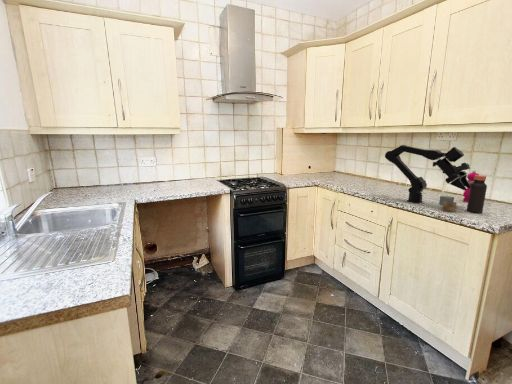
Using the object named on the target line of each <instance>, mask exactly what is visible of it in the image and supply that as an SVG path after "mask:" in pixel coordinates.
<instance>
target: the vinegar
mask: <svg viewBox="0 0 512 384" xmlns="http://www.w3.org/2000/svg"><path fill="white" fill-rule="evenodd" d="M486 180H487V176H486V175H481V174H479V175H475V176H474V183H472V184H471V186H470V192H469V199H468V202H467V206H466V211H467V212H469V213H474V214H482V213H483V210H484V205H485V200H486V194H487V189H488V185H487V184H486V183H485V182H486Z"/></svg>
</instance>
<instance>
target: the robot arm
mask: <svg viewBox="0 0 512 384" xmlns="http://www.w3.org/2000/svg"><path fill="white" fill-rule="evenodd" d="M403 153H408V154H413V155H417V156H421V157H423V158H426V159H428V160H429V161H432V167H433V168H434V167H436V166H437V167H438V168H439V169H440V170H441V172H442V174H443V175H444V174H445V175H446V176H447V177H446V178H445V182H446V184H449V185H451V186H453V187H455V188H458V189H460V190H462V191H465V190H466V189H467V188H470V184H469V183H468V178H467V176H468V172H466V171H467V170H470V169H471V167H470V164H469V163H468V162H463V163H461V164H460V165H458V166H456V165H455V164H454V165H453V164H452V163H456V162H457V161H458V160H459V159H461V158H462V157H464V156H465V154H464V152H462V150H460V149H459V148H457V147H456V146H453V147H452V148H451V149H449V150H448V151H447V152H442V151H441V150H440V149H423V148H419V147H414V146H410V145H406V144H402V145H400V146H398V147H396V148H394V149H391V150H388V151H386V152H385V154H384V157H385V159H386V160H387V161H388V162H390V163H392V164H393V165H395V166H396V167H397V168H398V170H399V171H400V172H401V173H402V174H403V175H404V176H405V178H407V180H409V182H410V187H409V188H408V199H407V200H406V201H407V202H409V203H410V202H411V203H414V204H418V203H423V201H422V200H423V193H422V192H423V191H424V190H425V189H427V187H428V186H427V185H428V183H427V181H426V180H425V179H424V177H422V176H417V175H415V173H414V171H412V170H411V169H410V168H409V167H408V166H407V165H406V163H405V162H403V161H402V159H401V156H400V155H402V154H403Z"/></svg>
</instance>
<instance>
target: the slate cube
mask: <svg viewBox="0 0 512 384" xmlns="http://www.w3.org/2000/svg"><path fill="white" fill-rule="evenodd" d="M454 200H455V196H450V195H440V196H439V202H438V205H442V206H443V204H444V202H445V201H450V202H455V201H454Z"/></svg>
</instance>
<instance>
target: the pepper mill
mask: <svg viewBox="0 0 512 384" xmlns="http://www.w3.org/2000/svg"><path fill="white" fill-rule="evenodd" d="M475 175H480V174H479V173H477V170H476V169H474V170H472V172H470V173H467V177H466V179H467V181H468V183H469V184H470V186H471V184H472V183H474V176H475ZM469 192H470V188H467V187H466V190H463V195H462V196H463V202H464V203H468V199H469Z"/></svg>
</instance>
